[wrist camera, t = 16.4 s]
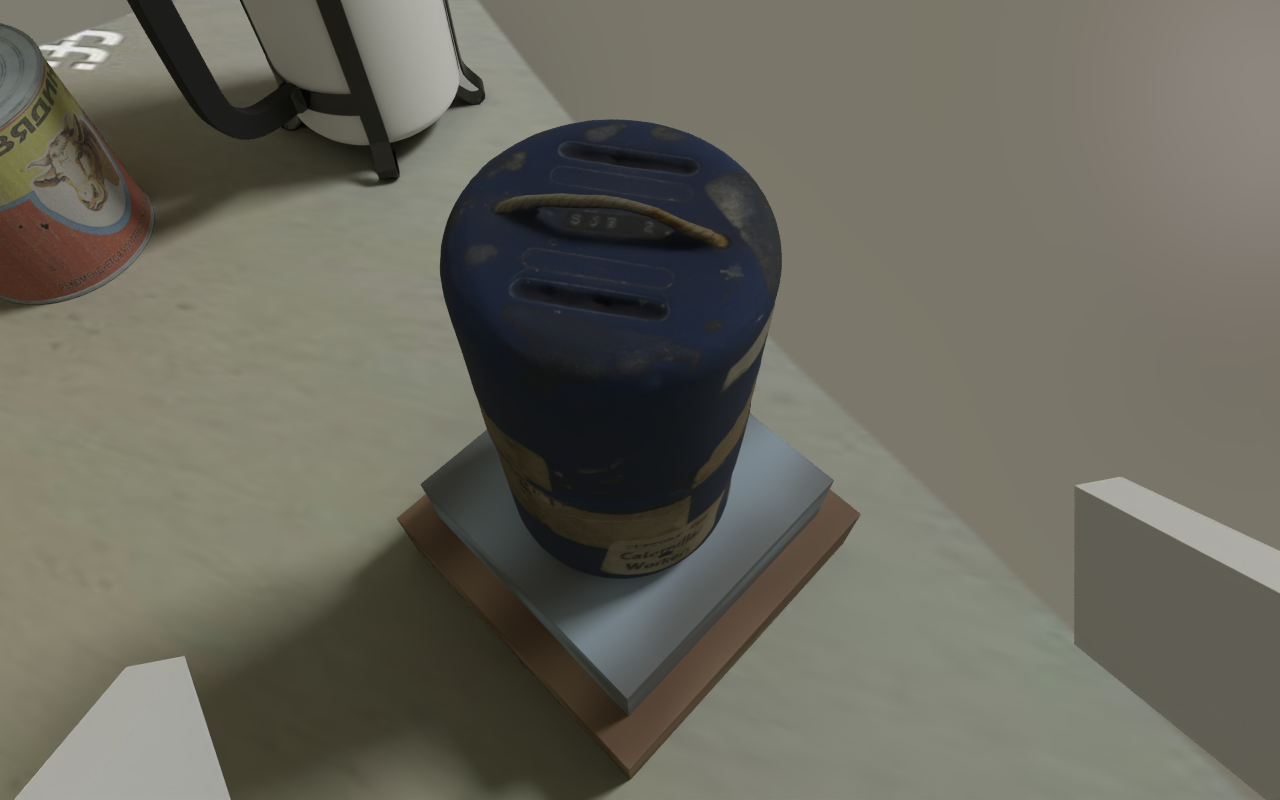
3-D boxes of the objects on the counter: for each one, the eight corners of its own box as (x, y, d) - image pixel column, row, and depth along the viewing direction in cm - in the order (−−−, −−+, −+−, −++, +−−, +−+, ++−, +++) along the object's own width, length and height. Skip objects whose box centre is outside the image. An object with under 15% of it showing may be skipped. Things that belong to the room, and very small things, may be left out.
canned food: (110, 312, 51) (-27, 169, 41) (-59, 296, 52) (-236, 151, 41) (181, 182, 57) (77, 27, 46) (27, 169, 57) (-109, 13, 47)
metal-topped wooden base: (416, 547, 43) (372, 484, 36) (629, 365, 49) (626, 281, 42) (630, 779, 37) (627, 758, 30) (843, 542, 43) (881, 479, 36)
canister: (578, 364, 39) (535, 31, 24) (762, 439, 37) (846, 128, 22) (475, 534, 35) (339, 263, 19) (676, 629, 33) (705, 411, 17)
